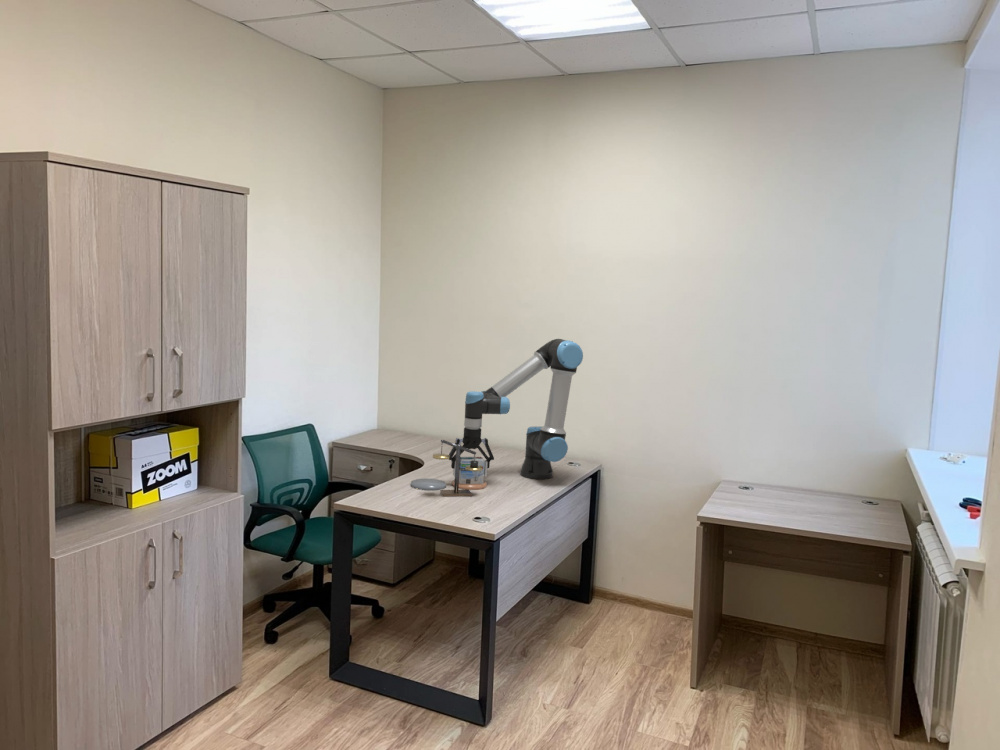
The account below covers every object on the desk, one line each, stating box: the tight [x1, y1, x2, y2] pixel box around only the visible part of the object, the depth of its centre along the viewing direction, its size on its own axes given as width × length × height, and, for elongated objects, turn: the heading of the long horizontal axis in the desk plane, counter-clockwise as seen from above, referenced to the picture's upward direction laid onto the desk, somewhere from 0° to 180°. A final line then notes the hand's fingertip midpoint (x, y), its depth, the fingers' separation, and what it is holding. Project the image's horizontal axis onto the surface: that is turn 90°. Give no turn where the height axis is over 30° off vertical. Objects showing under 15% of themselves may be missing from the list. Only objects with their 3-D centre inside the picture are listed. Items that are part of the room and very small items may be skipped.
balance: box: [432, 439, 482, 498], centre depth 316 cm, size 21×7×23 cm, turn 106°
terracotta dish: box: [451, 479, 488, 491], centre depth 333 cm, size 15×15×1 cm
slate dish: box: [410, 477, 447, 491], centre depth 328 cm, size 15×15×1 cm
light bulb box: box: [459, 456, 486, 484], centre depth 333 cm, size 11×7×11 cm, turn 106°
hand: (469, 475), depth 333 cm, fingers open, 13 cm apart
